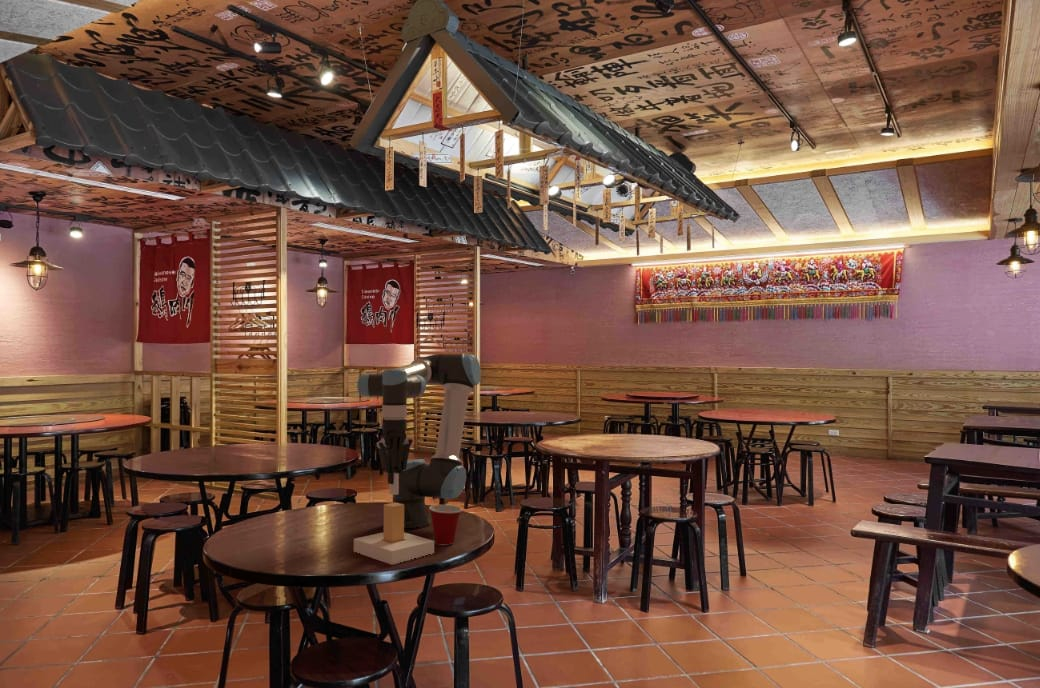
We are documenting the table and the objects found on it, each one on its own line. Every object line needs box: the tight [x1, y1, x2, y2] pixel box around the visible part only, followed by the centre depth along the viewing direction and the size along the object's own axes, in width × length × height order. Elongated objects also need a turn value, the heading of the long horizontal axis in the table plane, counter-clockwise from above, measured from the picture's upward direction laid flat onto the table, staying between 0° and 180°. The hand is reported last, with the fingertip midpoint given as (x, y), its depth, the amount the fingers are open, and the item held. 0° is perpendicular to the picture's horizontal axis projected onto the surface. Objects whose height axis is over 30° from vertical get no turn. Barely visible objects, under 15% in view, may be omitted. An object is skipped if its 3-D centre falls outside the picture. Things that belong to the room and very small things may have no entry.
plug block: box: [383, 502, 405, 543], centre depth 222 cm, size 4×4×15 cm
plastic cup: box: [428, 504, 463, 545], centre depth 232 cm, size 11×11×12 cm
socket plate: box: [353, 531, 435, 566], centre depth 222 cm, size 16×20×4 cm
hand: (394, 493), depth 222 cm, fingers closed
